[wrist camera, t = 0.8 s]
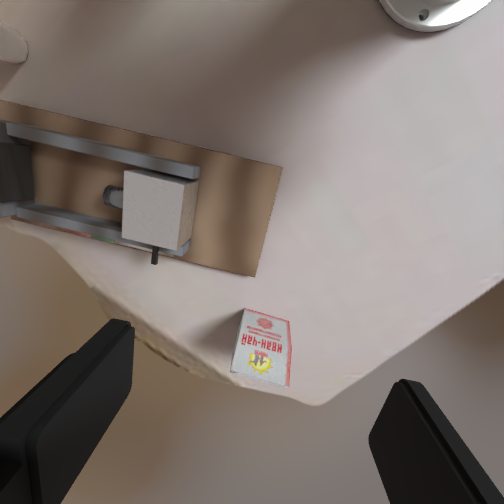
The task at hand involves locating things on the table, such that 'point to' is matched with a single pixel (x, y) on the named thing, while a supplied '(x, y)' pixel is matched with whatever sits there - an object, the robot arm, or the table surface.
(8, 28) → the milkshake
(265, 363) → the tea bag
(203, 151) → the gauge bench
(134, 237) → the slider
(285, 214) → the table surface
